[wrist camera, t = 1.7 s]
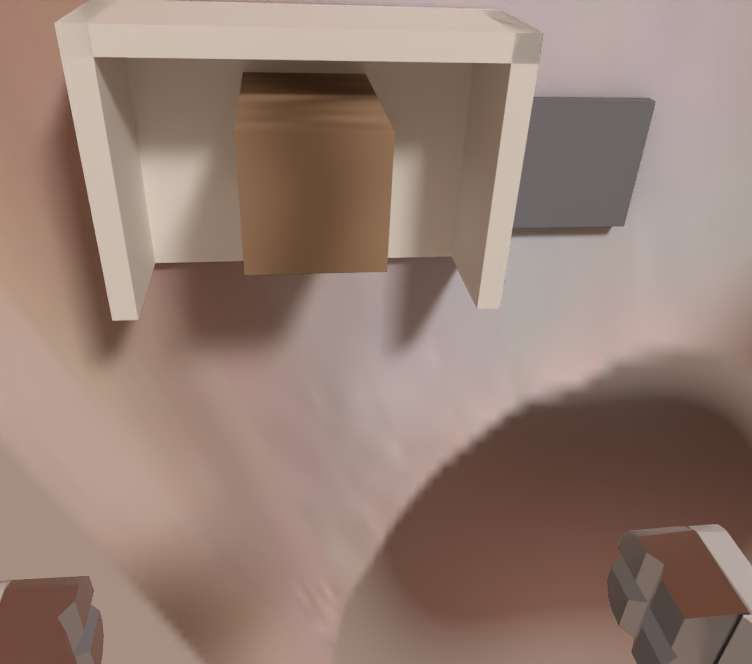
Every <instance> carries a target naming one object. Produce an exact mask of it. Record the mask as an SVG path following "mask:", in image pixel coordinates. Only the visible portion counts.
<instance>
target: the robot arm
mask: <svg viewBox="0 0 752 664" xmlns="http://www.w3.org/2000/svg"><path fill="white" fill-rule="evenodd" d="M618 549H619V551H620V553H621V554H622V557H621V558H620V559H619V560H618V561H616V562H615V563H614V564H613V565H612V566H611V569H610V572H609V576H608V579H607V584H608V598H609V601H610V605H611V608H612V612H613V614H614V616H615V618H616V620H617V623H618V625H619V626H620V627H621V628H623V629H624V630H625V631H626V632H628V633H629V634H630V635H632V636H633V637H634V642H633V648H632V654H633V656H634V658H635V660H636V662H637V664H752V566H751V564H750V563H749V562H748V560H747V559H746V557H745V556H744V554H743V553H742V552H741V550H740V549H739V548H738V546H737V545H736V543H735V542H734V541H733V539H732V538H731V536H730V535H729V534H728V532H727V531H726V530H725V529H724V528H723V527H721V526H720V525H718V524H709V525H698V526H687V527H684V526H678V527H666V528H656V529H646V530H635V531H627V532H626V533H625V534H624V535H623V536H622V537H621V539H620V542H619V545H618ZM93 592H94V590H93V587H92V584H91V581H90V578H89V576H79V577H62V578H61V577H60V578H44V579H43V578H42V579H26V580H25V579H24V580H7V581H0V664H101V660H102V651H103V625H102V619H101V615H100V611H99V610H98V609H96V608H95V607H93V606H92V605H91V601H92V597H93Z"/></svg>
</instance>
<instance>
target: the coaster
mask: <svg viewBox="0 0 752 664" xmlns="http://www.w3.org/2000/svg"><path fill="white" fill-rule="evenodd" d="M654 106H655V101H654V100H652V99H650V98H583V97H533V103H532V110H531V116H530V122H529V128H528V135H527V141H526V147H525V153H524V160H523V166H522V172H521V178H520V185H519V191H518V197H517V203H516V210H515V216H514V222H513V228H550V227H611V226H624V224H625V220H626V216H627V212H628V208H629V204H630V200H631V196H632V193H633V189H634V185H635V181H636V177H637V173H638V169H639V165H640V161H641V157H642V153H643V149H644V145H645V141H646V137H647V134H648V130H649V126H650V122H651V118H652V114H653V110H654Z"/></svg>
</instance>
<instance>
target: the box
mask: <svg viewBox="0 0 752 664" xmlns="http://www.w3.org/2000/svg"><path fill="white" fill-rule="evenodd" d="M54 24H55V29H56V34H57V39H58V44H59V50H60V55H61V60H62V65H63V70H64V75H65V80H66V85H67V91H68V96H69V101H70V106H71V111H72V116H73V121H74V126H75V132H76V137H77V142H78V147H79V152H80V157H81V162H82V167H83V173H84V178H85V183H86V188H87V193H88V198H89V203H90V208H91V214H92V219H93V224H94V229H95V234H96V239H97V244H98V249H99V255H100V260H101V265H102V270H103V275H104V280H105V285H106V290H107V296H108V301H109V306H110V311H111V316H112V321H119V320H138V319H139V316H140V313H141V309H142V306H143V303H144V299H145V296H146V293H147V289H148V286H149V283H150V279H151V276H152V273H153V269H154V266H155V263H177V262H223V261H243V248H242V234H241V220H240V205H239V191H238V177H237V163H236V149H235V134H234V130H235V123H236V116H237V109H238V102H239V95H240V88H241V81H242V74H243V72H270V73H346V74H366V75H367V77H368V79H369V81H370V83H371V85H372V87H373V89H374V91H375V93H376V95H377V97H378V99H379V101H380V103H381V105H382V107H383V109H384V111H385V113H386V115H387V117H388V119H389V121H390V123H391V125H392V127H393V129H394V131H395V139H394V157H393V175H392V193H391V211H390V229H389V247H388V258H407V257H452V259H453V261H454V263H455V265H456V267H457V269H458V271H459V273H460V275H461V277H462V279H463V281H464V283H465V285H466V287H467V289H468V291H469V293H470V296H471V298H472V300H473V302H474V304H475V306H476V308H477V309H493V308H500V303H501V297H502V291H503V285H504V278H505V272H506V266H507V260H508V253H509V247H510V241H511V235H512V228H513V222H514V216H515V210H516V203H517V197H518V191H519V185H520V178H521V172H522V166H523V160H524V153H525V147H526V141H527V135H528V128H529V122H530V116H531V110H532V103H533V97H534V91H535V85H536V78H537V72H538V66H539V60H540V53H541V47H542V41H543V35H544V33H542V32H540V31H539V30H537V29H535V28H533V27H531V26H529V25H528V24H526V23H524V22H522V21H520V20H518V19H517V18H515V17H513V16H511V15H509V14H507V13H506V12H504V11H502V10H500V9H474V8H436V7H398V6H360V5H322V4H283V3H245V2H207V1H169V0H89V1H87V2H86V3H84V4H83V5H81V6H79V7H78V8H76V9H75V10H73V11H72V12H70V13H69V14H67V15H65V16H64V17H62V18H61V19H59V20H58V21H56V22H55V23H54Z"/></svg>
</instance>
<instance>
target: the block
mask: <svg viewBox="0 0 752 664" xmlns="http://www.w3.org/2000/svg"><path fill="white" fill-rule="evenodd" d="M234 134H235V149H236V163H237V177H238V191H239V205H240V220H241V234H242V248H243V262H244V275H274V274H315V273H356V272H387V265H388V247H389V229H390V211H391V193H392V175H393V157H394V139H395V131H394V129H393V127H392V125H391V123H390V121H389V119H388V117H387V115H386V113H385V111H384V109H383V107H382V105H381V103H380V101H379V99H378V97H377V95H376V93H375V91H374V89H373V87H372V85H371V83H370V81H369V79H368V77H367V75H366V74H346V73H270V72H243V74H242V81H241V88H240V95H239V102H238V109H237V116H236V123H235V130H234Z"/></svg>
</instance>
